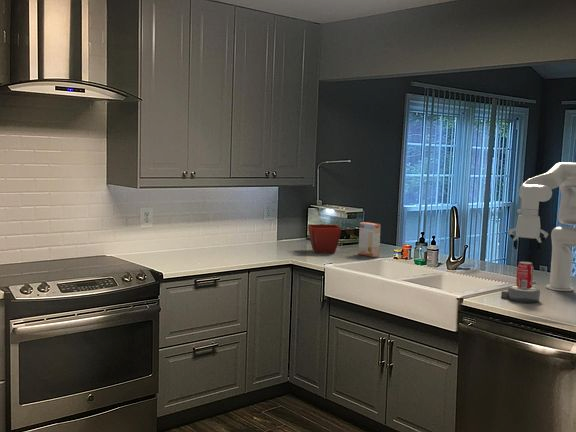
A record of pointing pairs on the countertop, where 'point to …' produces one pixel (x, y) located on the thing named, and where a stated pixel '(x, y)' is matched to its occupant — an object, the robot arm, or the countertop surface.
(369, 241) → the cracker box
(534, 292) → the motor housing
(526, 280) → the soda can
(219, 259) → the countertop surface
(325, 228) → the plant pot
